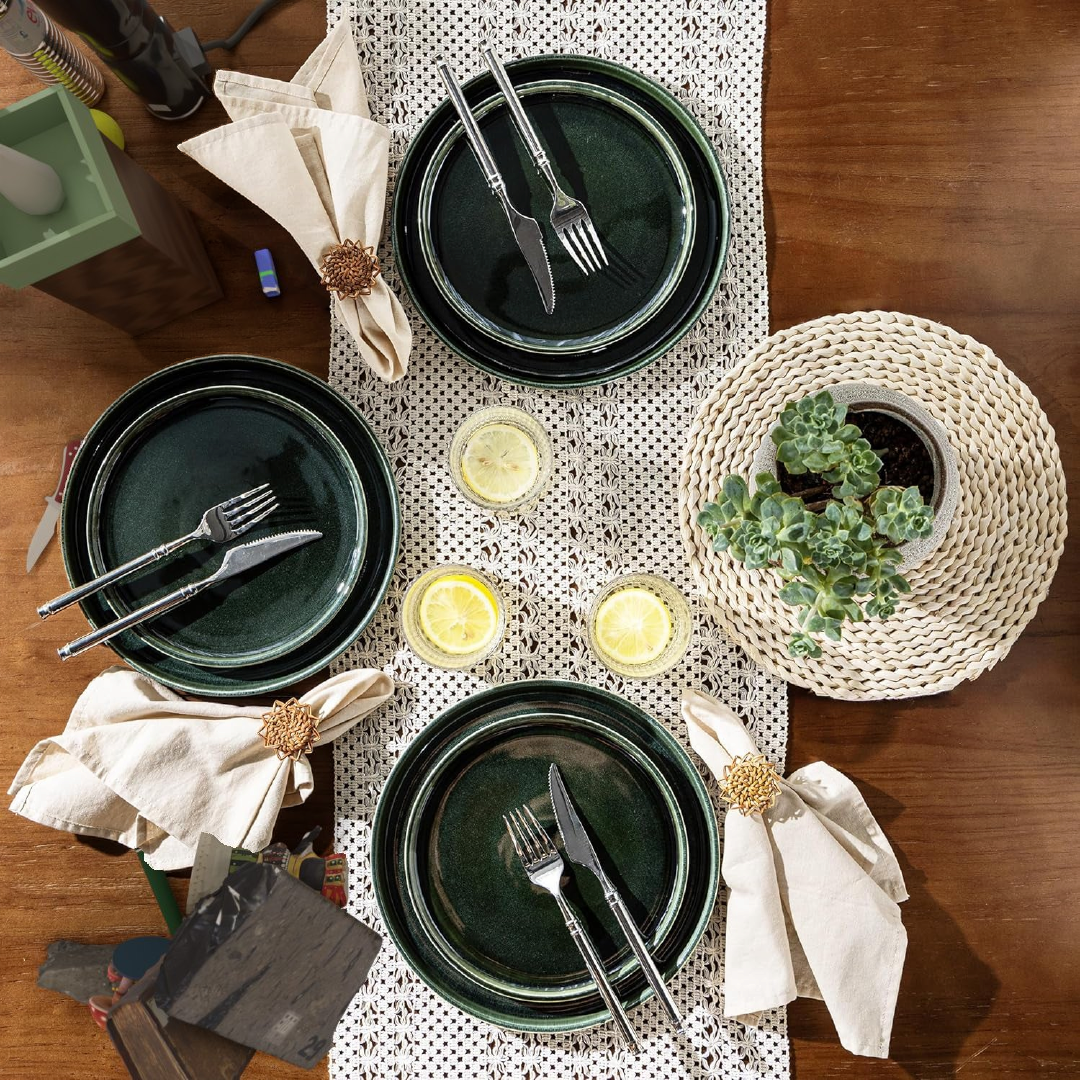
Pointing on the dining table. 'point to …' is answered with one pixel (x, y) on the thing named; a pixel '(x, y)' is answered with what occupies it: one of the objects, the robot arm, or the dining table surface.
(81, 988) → the stone
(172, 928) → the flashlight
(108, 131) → the ornament
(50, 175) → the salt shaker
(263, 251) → the eraser
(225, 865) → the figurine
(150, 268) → the bin stand
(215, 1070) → the book
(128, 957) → the figurine
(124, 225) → the open bin
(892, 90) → the dining table surface
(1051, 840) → the dining table surface
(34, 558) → the knife
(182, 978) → the stone slab
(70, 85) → the water bottle
